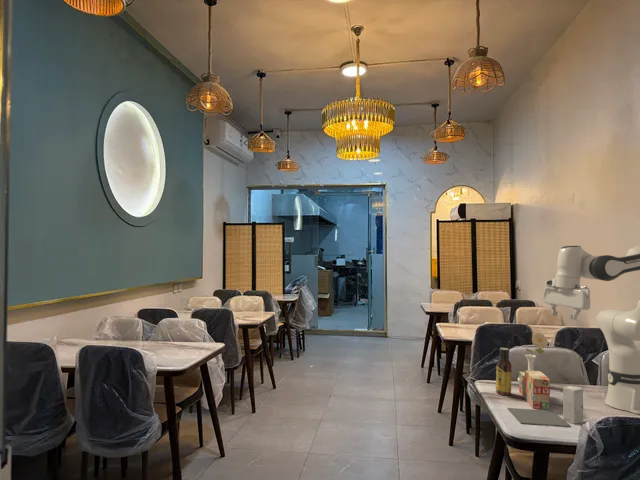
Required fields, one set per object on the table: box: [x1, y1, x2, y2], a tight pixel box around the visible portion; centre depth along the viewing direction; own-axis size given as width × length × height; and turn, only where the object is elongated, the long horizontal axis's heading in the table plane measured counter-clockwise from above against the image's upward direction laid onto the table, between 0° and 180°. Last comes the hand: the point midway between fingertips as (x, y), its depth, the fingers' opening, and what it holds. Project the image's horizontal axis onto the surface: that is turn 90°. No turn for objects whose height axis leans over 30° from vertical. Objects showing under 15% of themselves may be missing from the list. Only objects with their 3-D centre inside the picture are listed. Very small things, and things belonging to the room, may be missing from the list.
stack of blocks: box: [518, 369, 551, 411], centre depth 178 cm, size 21×6×12 cm, turn 169°
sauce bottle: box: [495, 347, 513, 396], centre depth 186 cm, size 7×6×20 cm
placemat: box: [506, 407, 572, 428], centre depth 158 cm, size 17×15×1 cm
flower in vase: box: [517, 332, 549, 382], centre depth 200 cm, size 13×11×25 cm
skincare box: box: [562, 385, 584, 425], centre depth 156 cm, size 6×4×12 cm
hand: (563, 317), depth 173 cm, fingers open, 8 cm apart
